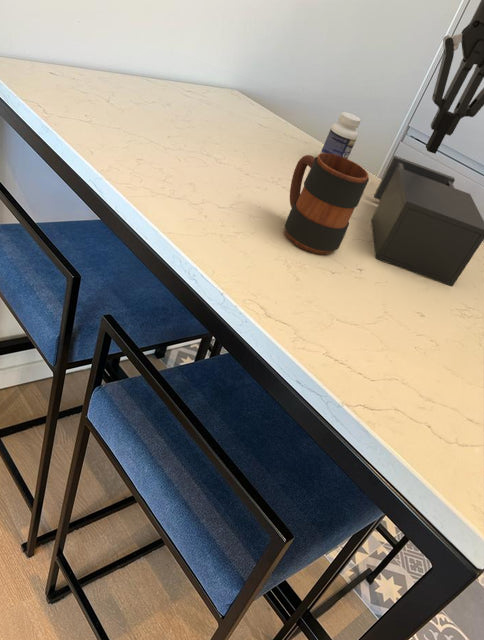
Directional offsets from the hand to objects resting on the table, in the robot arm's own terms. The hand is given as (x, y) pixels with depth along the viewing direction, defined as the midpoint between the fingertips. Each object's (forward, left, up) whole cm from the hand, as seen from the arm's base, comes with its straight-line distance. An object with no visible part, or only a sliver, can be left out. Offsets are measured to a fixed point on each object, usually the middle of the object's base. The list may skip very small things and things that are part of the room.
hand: (430, 150), depth 101 cm
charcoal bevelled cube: (0, +19, -11) cm, 22 cm away
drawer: (0, +7, -10) cm, 12 cm away
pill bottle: (+14, -9, -11) cm, 20 cm away
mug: (+18, +27, -11) cm, 35 cm away
